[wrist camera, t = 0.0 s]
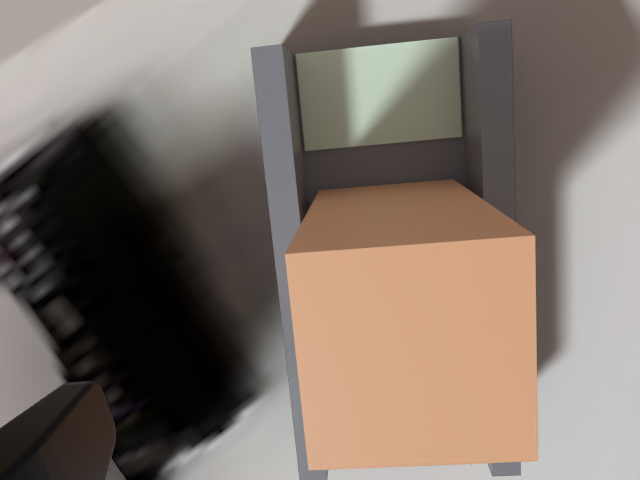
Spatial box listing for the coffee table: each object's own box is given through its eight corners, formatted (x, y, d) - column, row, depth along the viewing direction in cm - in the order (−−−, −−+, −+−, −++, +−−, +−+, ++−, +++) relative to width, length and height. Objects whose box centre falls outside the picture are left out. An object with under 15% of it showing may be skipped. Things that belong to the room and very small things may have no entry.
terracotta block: (458, 306, 22) (538, 461, 12) (330, 315, 22) (308, 470, 13) (453, 178, 21) (534, 235, 11) (319, 190, 21) (284, 254, 12)
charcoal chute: (494, 416, 24) (520, 475, 20) (309, 425, 25) (300, 483, 21) (483, 37, 21) (511, 19, 17) (270, 59, 22) (250, 47, 18)
